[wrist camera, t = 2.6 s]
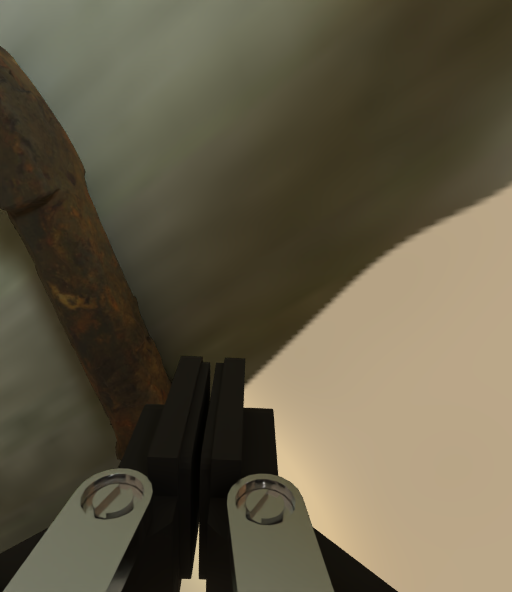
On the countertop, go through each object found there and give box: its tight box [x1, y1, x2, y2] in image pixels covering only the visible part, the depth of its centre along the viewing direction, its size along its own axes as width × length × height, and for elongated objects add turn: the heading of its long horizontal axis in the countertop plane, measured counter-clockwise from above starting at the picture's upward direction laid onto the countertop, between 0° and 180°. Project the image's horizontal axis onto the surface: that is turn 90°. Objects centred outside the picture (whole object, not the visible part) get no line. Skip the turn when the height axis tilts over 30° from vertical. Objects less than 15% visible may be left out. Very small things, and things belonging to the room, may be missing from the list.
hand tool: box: [0, 46, 172, 460], centre depth 20 cm, size 19×4×5 cm, turn 14°
